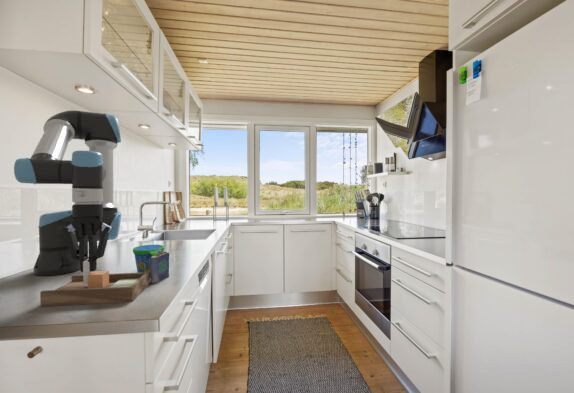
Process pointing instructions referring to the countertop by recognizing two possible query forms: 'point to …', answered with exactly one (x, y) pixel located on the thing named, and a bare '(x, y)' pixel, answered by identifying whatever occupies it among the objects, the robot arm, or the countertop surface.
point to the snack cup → (145, 256)
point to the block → (98, 279)
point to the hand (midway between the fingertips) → (88, 282)
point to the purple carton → (159, 266)
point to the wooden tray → (97, 290)
